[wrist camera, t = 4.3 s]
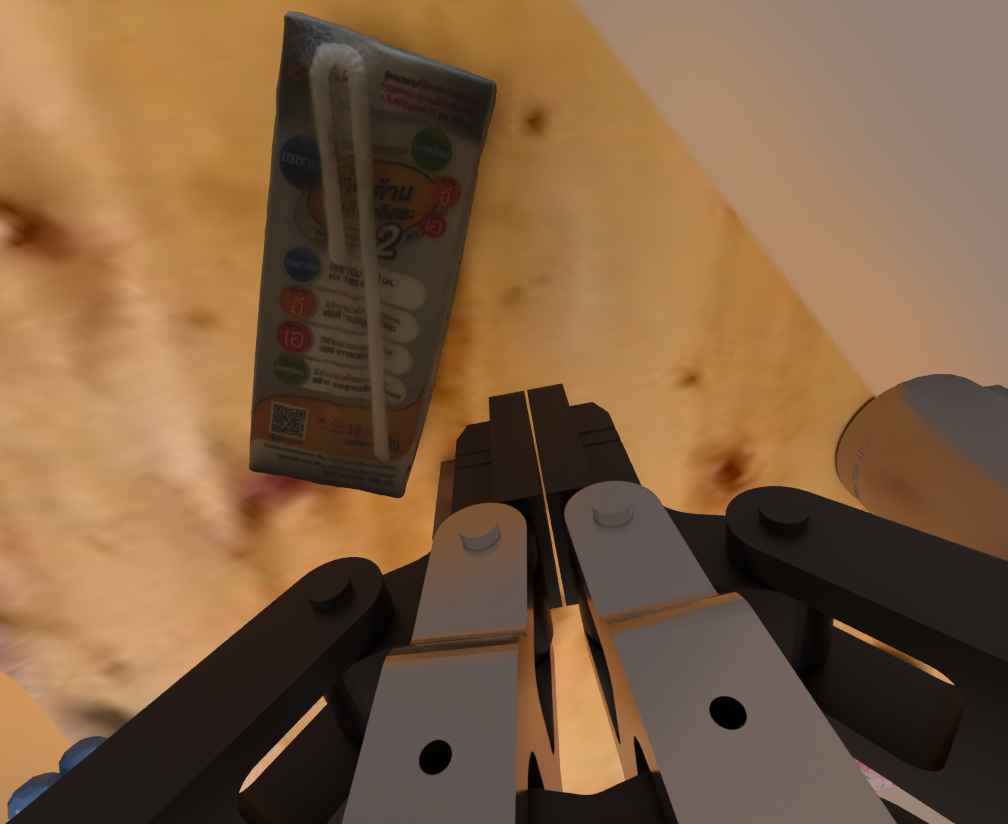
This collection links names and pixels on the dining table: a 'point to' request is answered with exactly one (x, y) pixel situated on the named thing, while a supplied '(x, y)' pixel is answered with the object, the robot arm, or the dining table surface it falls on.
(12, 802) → the grapes
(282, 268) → the beverage carton
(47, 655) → the dining table surface
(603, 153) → the dining table surface
